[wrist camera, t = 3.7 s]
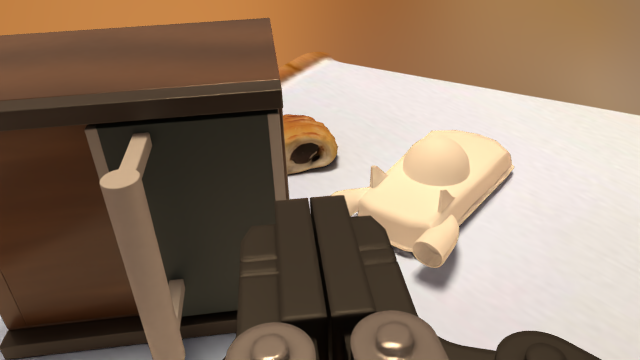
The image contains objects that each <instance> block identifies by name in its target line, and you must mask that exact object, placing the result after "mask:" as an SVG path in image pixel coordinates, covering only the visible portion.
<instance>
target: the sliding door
mask: <svg viewBox="0 0 640 360" xmlns="http://www.w3.org/2000/svg"><path fill="white" fill-rule="evenodd" d="M85 134H86V137H87V140H88V143H89V147H90V150H91V153H92V157H93V160H94V163H95V167H96V170H97V173H98V176H99V180H100V183H99V184H100V187H101V190H102V194H103V197H104V200H105V203H106V207H107V210H108V213H109V217H110V220H111V223H112V226H113V230H114V233H115V236H116V240H117V243H118V246H119V249H120V253H121V256H122V259H123V263H124V266H125V269H126V272H127V276H128V279H129V282H130V286H131V289H132V292H133V295H134V299H135V302H136V305H137V309H138V312H139V315H140V318H141V322H142V325H143V328H144V332H145V335H146V338H147V341H148V345H149V348H150V351H151V355H152V358H153V360H184V359H185V349H184V345H183V342H182V338H181V334H180V323H181V317H183V316H191V315H200V314H209V313H217V312H226V311H235V310H238V291H239V277H240V276H239V269H240V247H241V241H242V239H243V238H244V236H245V235H246V233H247V232H248V230H249V229H250V227H251V226H259V225H270V224H276V222H275V203H274V201H278V200H286V190H285V178H284V166H283V153H282V141H281V128H280V116H279V109H269V110H260V111H248V112H235V113H223V114H211V115H199V116H186V117H174V118H162V119H150V120H137V121H125V122H113V123H101V124H88V125H87V126H86V128H85Z"/></svg>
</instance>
